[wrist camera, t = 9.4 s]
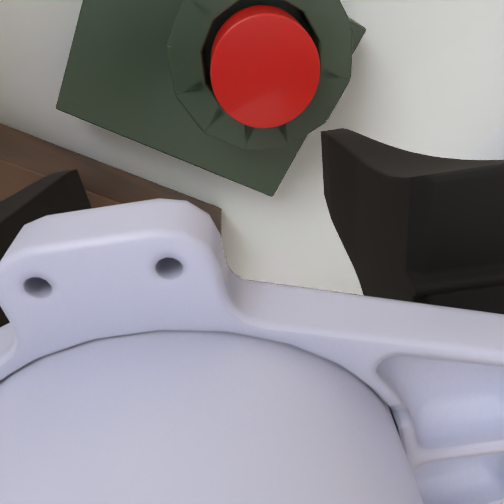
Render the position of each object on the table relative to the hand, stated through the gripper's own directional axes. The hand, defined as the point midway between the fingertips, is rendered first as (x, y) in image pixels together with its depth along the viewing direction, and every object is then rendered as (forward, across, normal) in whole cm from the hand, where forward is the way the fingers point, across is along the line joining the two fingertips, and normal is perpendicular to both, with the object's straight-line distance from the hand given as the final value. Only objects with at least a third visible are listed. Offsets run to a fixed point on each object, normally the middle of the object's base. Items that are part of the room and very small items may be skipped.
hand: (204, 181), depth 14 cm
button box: (+9, 0, -2) cm, 9 cm away
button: (+5, -2, -2) cm, 6 cm away
